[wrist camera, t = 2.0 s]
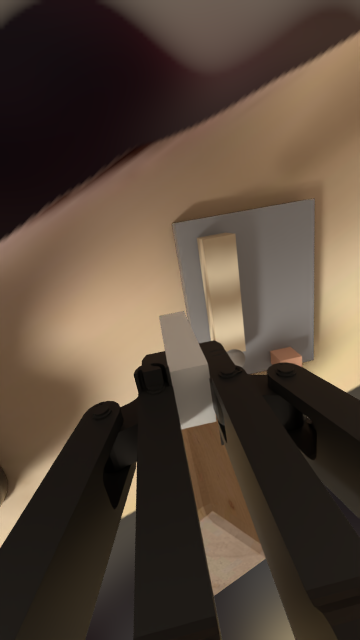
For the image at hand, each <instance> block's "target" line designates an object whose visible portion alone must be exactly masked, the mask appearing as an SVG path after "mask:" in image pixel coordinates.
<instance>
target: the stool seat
mask: <svg viewBox="0 0 360 640" xmlns="http://www.w3.org/2000/svg"><path fill="white" fill-rule="evenodd" d="M314 220H315V199H308V200H301V201H295V202H290V203H284V204H278V205H273V206H267V207H261V208H256V209H250V210H245V211H239V212H233V213H228V214H222V215H217V216H211V217H205V218H200V219H194V220H188V221H183V222H177V223H172V227H173V233H174V239H175V245H176V251H177V257H178V263H179V269H180V275H181V281H182V287H183V293H184V299H185V305H186V311H187V317H188V322H189V324H190V326H191V328H192V330H193V333H194V335H195V337H196V339H197V341H198V343H203V342H208V341H211V338H210V330H209V323H208V316H207V309H206V301H205V294H204V287H203V280H202V272H201V265H200V258H199V251H198V243H197V238H199V237H205V236H210V235H216V234H221V233H233V234H235V236H236V247H237V259H238V270H239V281H240V292H241V303H242V314H243V325H244V336H245V347H246V351H243V353H244V355H245V363H244V365H243V367H242V368H243V369H244V370H245V371H246V373H247V374H252V373H257V372H262V371H266V370H267V369H268V368H269V367H270V366H272V365H273V364H277V363H282V362H283V363H284V362H287V363H293V364H296V365H299V366H301V367H302V362H307V361H311V360H314Z"/></svg>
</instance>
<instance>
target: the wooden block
mask: <svg viewBox="0 0 360 640" xmlns="http://www.w3.org/2000/svg"><path fill="white" fill-rule="evenodd" d="M182 434H183V439H184V444H185V449H186V454H187V460H188V465H189V470H190V475H191V480H192V486H193V491H194V496H195V501H196V506H197V511H198V517H199V522H200V527H201V532H202V537H203V543H204V548H205V553H206V558H207V563H208V569H209V574H210V579H211V584H212V589H213V595H216V594H217V593H219V592H220V591H221V590H223V589H224V588H225V587H227V586H228V585H230V584H231V583H232V582H234V581H235V580H237V579H238V578H239V577H241V576H242V575H243V574H245V573H246V572H247V571H249V570H250V569H252V568H253V567H254V566H256V565H257V564H259V563H260V562H262V561H263V560H264V559H266V557H265V555H264V552H263V549H262V546H261V544H260V541H259V538H258V535H257V533H256V530H255V527H254V524H253V522H252V519H251V516H250V513H249V511H248V508H247V505H246V502H245V500H244V497H243V494H242V491H241V489H240V486H239V483H238V480H237V478H236V475H235V472H234V469H233V467H232V464H231V461H230V458H229V456H228V453H227V450H226V447H225V445H221V439H220V432H219V425H218V419H217V417H216V422H212V423H207V424H203V425H199V426H194V427H190V428H185V429H182Z"/></svg>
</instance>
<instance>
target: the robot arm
mask: <svg viewBox="0 0 360 640" xmlns="http://www.w3.org/2000/svg"><path fill="white" fill-rule="evenodd" d="M159 319H160V324H161V330H162V336H163V342H164V347H165V351H164V352H159V353H154V354H149V355H146V356H145V357H144V359H143V360H142V366H140V367H139V368H137V369H136V370H135V372H134V378H135V382H136V385H137V389H138V397H137V398H136V399H135V400H134V401H132V402H131V403H129V404H127V405H124V406H122V407H120V406H119V404H118V403H116V402H114V401H106V402H101V403H99V404H96V405H94V406H93V407H91V408H90V409H88V410H87V412H86V413H85V414H84V415H83V417H82V418H81V420H80V422H79V423H78V425H77V426H76V428H75V430H74V431H73V433H72V434H71V436H70V438H69V439H68V441H67V442H66V444H65V446H64V447H63V449H62V450H61V452H60V454H59V455H58V457H57V458H56V460H55V462H54V463H53V465H52V466H51V468H50V470H49V471H48V473H47V474H46V476H45V478H44V479H43V481H42V482H41V484H40V486H39V487H38V489H37V490H36V492H35V494H34V495H33V497H32V498H31V500H30V502H29V503H28V505H27V506H26V508H25V510H24V511H23V513H22V514H21V516H20V518H19V519H18V521H17V522H16V524H15V525H14V527H13V529H12V530H11V532H10V533H9V535H8V537H7V538H6V540H5V541H4V543H3V545H2V546H1V548H0V640H85V639H86V635H87V631H88V628H89V625H90V621H91V618H92V615H93V611H94V608H95V604H96V601H97V597H98V594H99V591H100V587H101V584H102V581H103V577H104V574H105V571H106V567H107V564H108V560H109V557H110V554H111V550H112V547H113V543H114V540H115V537H116V533H117V530H118V527H119V523H120V520H121V516H122V513H123V510H124V506H125V503H126V499H127V496H128V493H129V489H130V486H131V482H132V479H133V476H134V472H135V469H136V462H137V490H136V539H135V540H136V541H135V544H136V545H135V590H134V638H133V640H222V636H221V631H220V626H219V621H218V615H217V610H216V605H215V600H214V595H213V589H212V584H211V579H210V574H209V569H208V563H207V558H206V553H205V548H204V543H203V537H202V532H201V527H200V522H199V517H198V511H197V506H196V501H195V496H194V491H193V486H192V480H191V475H190V470H189V465H188V460H187V454H186V449H185V444H184V439H183V434H182V429H185V428H190V427H194V426H199V425H203V424H207V423H212V422H216V416H217V419H218V425H219V432H220V439H221V445H225V447H226V450H227V453H228V456H229V458H230V461H231V464H232V467H233V469H234V472H235V475H236V478H237V480H238V483H239V486H240V489H241V491H242V494H243V497H244V500H245V502H246V505H247V508H248V511H249V513H250V516H251V519H252V522H253V524H254V527H255V530H256V533H257V535H258V538H259V541H260V544H261V546H262V549H263V552H264V555H265V557H266V560H267V563H268V566H269V568H270V571H271V574H272V577H273V579H274V582H275V585H276V587H277V590H278V593H279V596H280V599H281V601H282V604H283V607H284V609H285V612H286V615H287V618H288V620H289V623H290V626H291V628H292V631H293V634H294V637H295V640H360V537H359V536H358V535H357V533H356V532H355V530H354V529H353V527H352V526H351V524H350V523H349V521H348V520H347V518H346V517H345V516H344V514H343V513H342V511H341V510H340V508H339V507H338V505H337V504H336V502H335V501H334V500H333V498H332V497H331V495H330V494H329V492H328V491H327V490H326V488H325V487H324V485H323V483H324V484H325V485H326V486H327V487H328V488H329V489H330V490H331V491H332V492H333V493H334V494H335V495H336V496H337V497H338V498H339V499H340V500H341V501H342V502H343V503H344V504H345V505H346V506H347V507H348V508H349V509H350V510H351V511H352V512H353V513H354V514H355V515H356V516H357V517H358V518H359V519H360V400H358V399H357V398H355V397H353V396H351V395H350V394H348V393H346V392H344V391H343V390H341V389H339V388H337V387H336V386H334V385H332V384H330V383H329V382H327V381H325V380H323V379H322V378H320V377H318V376H316V375H315V374H313V373H311V372H309V371H308V370H306V369H304V368H302V367H301V366H299V365H296V364H293V363H287V362H284V363H283V362H282V363H277V364H273V365H272V366H270V367H269V368H268V369H267V375H250V374H247V373H246V371H245V370H244V369H243V368H242V367H240V366H237V365H235V364H234V363H233V361H232V360H231V358H230V356H229V355H228V353H227V352H226V350H225V349H224V347H223V346H222V344H221V343H219V342H217V341H215V340H213V341H208V342H203V343H198V341H197V339H196V337H195V335H194V333H193V330H192V328H191V326H190V324H189V322H188V320H187V317H186V315H185V313H184V311H182V312H177V313H172V314H167V315H162V316H159ZM215 414H216V415H215ZM306 416H307V417H308V418H307V417H306ZM320 480H321V481H322V482H323V483H322V482H321V481H320ZM7 489H8V483H7V478H6V476H5V474H4V472H3V470H2V469H1V468H0V506H1V504H2V502H3V500H4V498H5V496H6V494H7Z"/></svg>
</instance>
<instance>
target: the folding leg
mask: <svg viewBox="0 0 360 640" xmlns="http://www.w3.org/2000/svg"><path fill="white" fill-rule="evenodd" d="M197 243H198V251H199V258H200V265H201V272H202V280H203V287H204V294H205V301H206V309H207V316H208V323H209V330H210V338H211V341H213V340H215V341H217V342H219V343H221V344H222V346H223V347H224V349H225V350H226V352H227V353H228V355H229V356H230V358H231V360H232V361H233V363H234V364H235V365H237V366H240V367H243V365H244V363H245V355H244V353H243V351H246V347H245V336H244V325H243V314H242V303H241V292H240V281H239V270H238V259H237V247H236V236H235V234H233V233H221V234H216V235H210V236H205V237H199V238H197Z"/></svg>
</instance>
